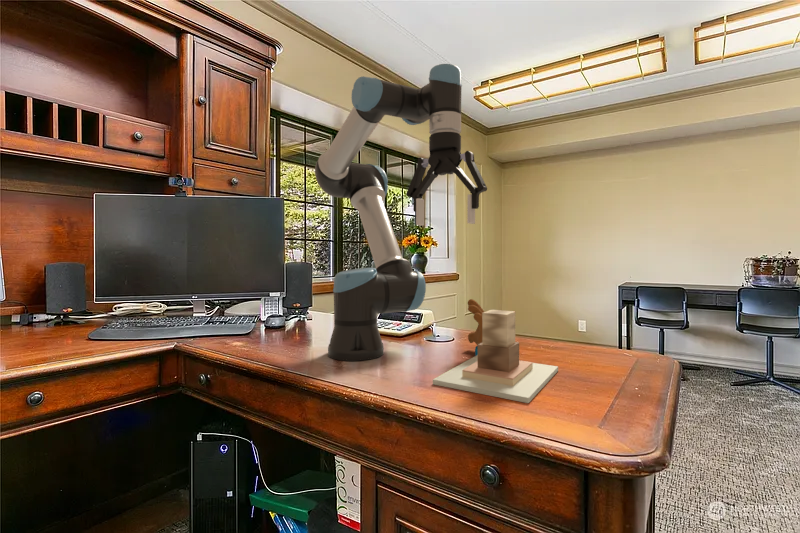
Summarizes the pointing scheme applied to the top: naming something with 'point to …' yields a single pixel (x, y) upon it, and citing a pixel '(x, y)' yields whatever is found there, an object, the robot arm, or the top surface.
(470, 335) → the toy
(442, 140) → the robot arm
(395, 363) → the top surface
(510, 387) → the board
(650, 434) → the top surface
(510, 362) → the walnut block
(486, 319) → the maple block
